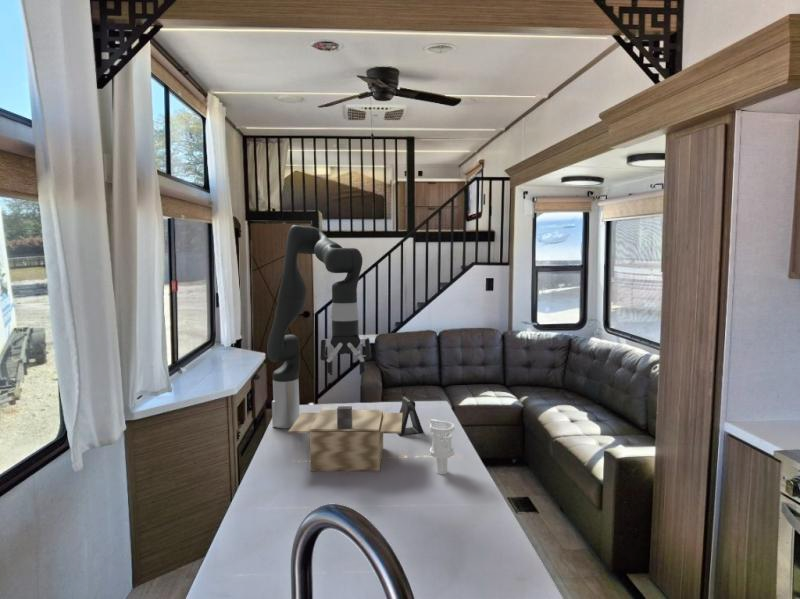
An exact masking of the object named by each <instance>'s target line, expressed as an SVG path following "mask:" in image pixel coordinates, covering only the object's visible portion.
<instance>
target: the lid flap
mask: <svg viewBox="0 0 800 599" xmlns="http://www.w3.org/2000/svg"><path fill="white" fill-rule="evenodd" d="M383 411H384V410H383V409H353V406H349V405H347V406H346V405H344V406H343V405H342V406H341V405H339V406H337V408H336V409H321V410H320V412H318V413H319V415H318V417H317V418H316V420H315V422H314V423H313V425H312V427H311V428H310V431H379V428H380V423H381V418H382V413H383V414H384V412H383Z"/></svg>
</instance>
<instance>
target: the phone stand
mask: <svg viewBox="0 0 800 599" xmlns="http://www.w3.org/2000/svg"><path fill="white" fill-rule="evenodd" d="M399 413H403V415H402V428H401V433H396V434H397V435H398V436H399V437H402V436H404V435H405V436H410V435H419V434H424V430H423V426H422V424H421V421H420V419H419V415H418V413H417V410H416V402H415V401H414V400H412V398H410V397H409V396H407V395H406V396H403V397H402V398H401V406H400V410H399ZM409 418H410V421H411V425H412V427H407V423H408V419H409Z"/></svg>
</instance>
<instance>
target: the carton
mask: <svg viewBox="0 0 800 599" xmlns="http://www.w3.org/2000/svg"><path fill="white" fill-rule="evenodd" d="M319 413H320V412H300V413H299V415H300V416H299V417H298V418H297V420H296V421H295V423H294V424H293V426H292V427H291V428H289V429H288V434H309V445H310V446H309V448H310V449H309V450H310V451H309V452H310V453H309V454H310V456H309V457H310V458H309V459H310V472H359V471H367V472H369V471H371V473H372V472H377V473H379V472H380V471H381V465H382V460H383V459H382V458H383V454H384V453H383V452H384V434H397V433H401V428H402V415H403V413H400V412H383V413H382V418H381V423H380V428H379V431H310V428H311V427H312V425H313V423H314V422H315V420H316V418H317V417H318V415H319ZM381 459H382V460H381ZM367 472H366V473H367ZM369 473H370V472H369Z"/></svg>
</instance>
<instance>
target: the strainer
mask: <svg viewBox="0 0 800 599" xmlns="http://www.w3.org/2000/svg"><path fill="white" fill-rule="evenodd" d="M438 426H444V427H445V428H437V427H438ZM429 431H430V432H431V433H432V441H431V442H432V444H431V447H430V448H429V455H430V456H431V457H433V458H435V459H436V473H437V474H438V473H439V474H438V475H446V474H448V459H449V458H452V457H454V456H455V449H454V448H453V447H452V444H453V443H452V442H453V440H452V439H453V438H452V436H453V435H452V433H453V432H454V431H455V424H454V423H453V422H449V421H445V420H444V421H442V420H439V419H435V418H431V419H430V423H429Z"/></svg>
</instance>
